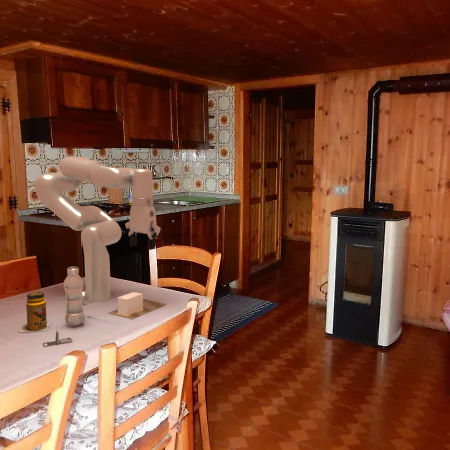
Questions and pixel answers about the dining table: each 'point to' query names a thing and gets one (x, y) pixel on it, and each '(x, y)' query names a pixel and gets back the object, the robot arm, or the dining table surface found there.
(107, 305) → the dining table surface
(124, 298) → the block
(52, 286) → the dining table surface
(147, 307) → the board
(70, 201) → the robot arm
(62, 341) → the strap clip
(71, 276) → the plastic bottle
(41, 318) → the condiment
